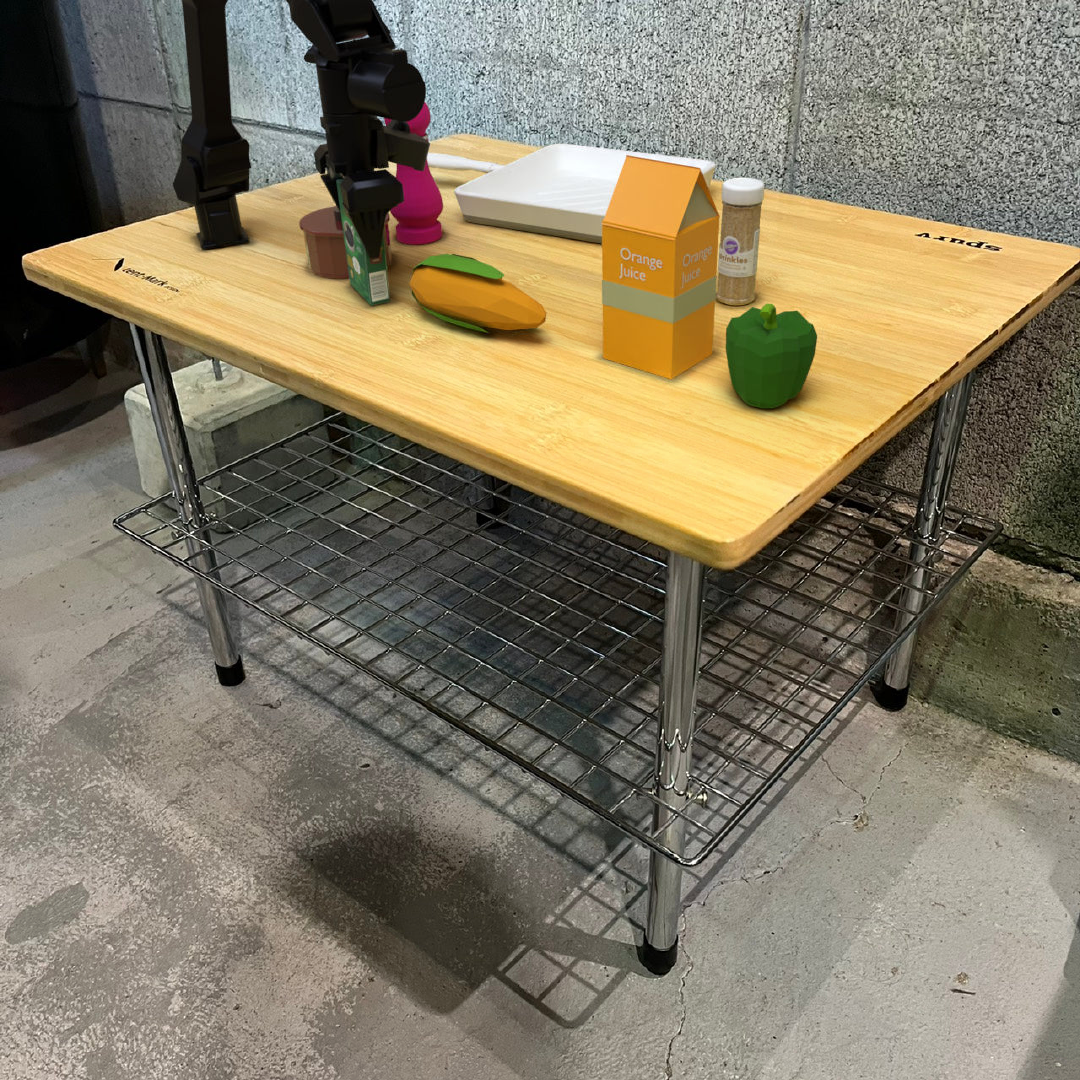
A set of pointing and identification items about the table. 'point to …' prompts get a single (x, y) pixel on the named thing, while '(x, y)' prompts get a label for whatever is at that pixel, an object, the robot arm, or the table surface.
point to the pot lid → (325, 222)
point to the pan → (549, 188)
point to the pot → (334, 255)
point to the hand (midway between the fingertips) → (366, 247)
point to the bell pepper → (769, 355)
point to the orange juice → (659, 268)
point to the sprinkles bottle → (739, 240)
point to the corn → (473, 294)
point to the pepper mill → (418, 195)
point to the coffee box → (364, 263)
